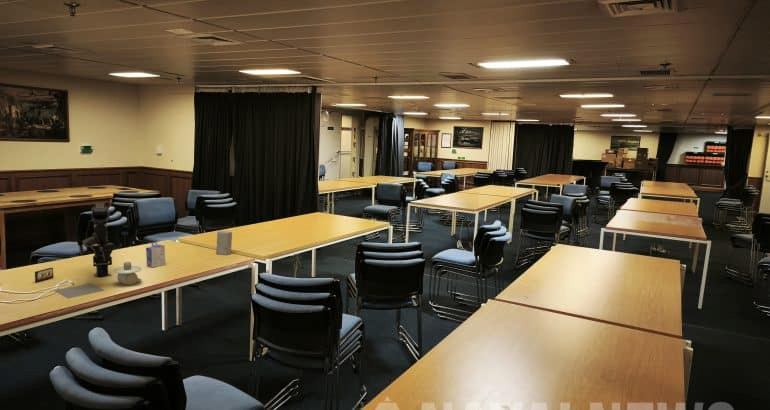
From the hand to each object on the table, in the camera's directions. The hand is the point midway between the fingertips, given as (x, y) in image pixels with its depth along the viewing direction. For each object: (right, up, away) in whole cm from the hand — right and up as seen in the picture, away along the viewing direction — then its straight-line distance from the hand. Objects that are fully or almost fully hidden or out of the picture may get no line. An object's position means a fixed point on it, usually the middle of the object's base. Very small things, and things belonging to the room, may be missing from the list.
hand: (101, 260), depth 249 cm
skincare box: (+39, -5, +76) cm, 86 cm away
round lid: (+13, -6, +2) cm, 14 cm away
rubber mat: (-4, -15, -12) cm, 19 cm away
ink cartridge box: (+9, -8, +40) cm, 42 cm away
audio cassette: (-32, -12, +2) cm, 34 cm away
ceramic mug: (+13, -14, +4) cm, 19 cm away
